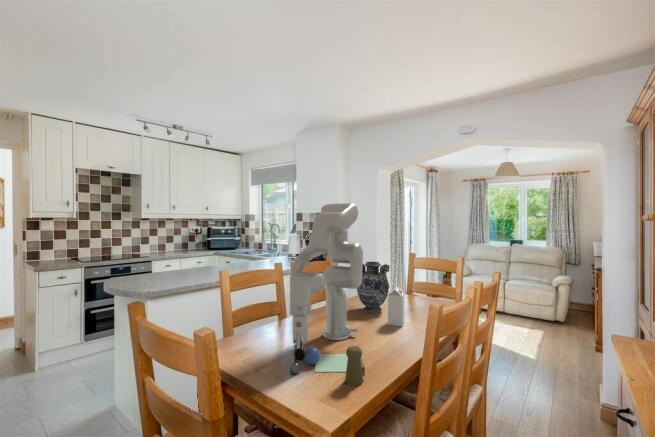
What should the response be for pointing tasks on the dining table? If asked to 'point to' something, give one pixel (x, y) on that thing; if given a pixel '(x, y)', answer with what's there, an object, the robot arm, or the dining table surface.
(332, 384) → the dining table surface
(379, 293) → the decorative vase
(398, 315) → the milk carton
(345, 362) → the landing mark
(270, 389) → the dining table surface
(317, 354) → the ball
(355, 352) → the olive knobbed tapered cylinder
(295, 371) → the post
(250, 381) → the dining table surface
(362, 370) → the stopper strip
